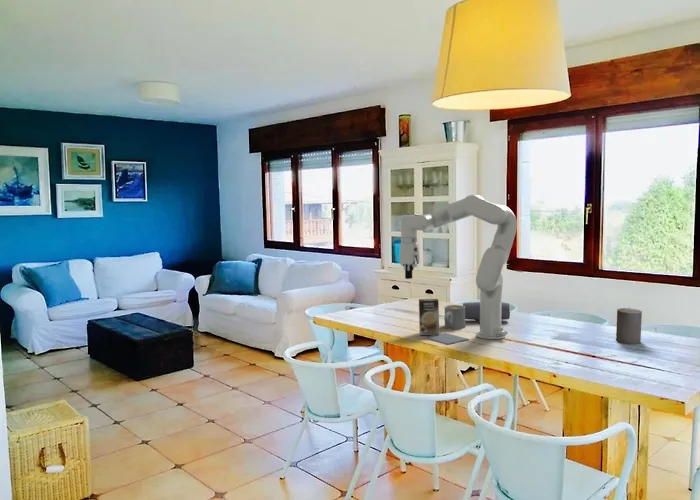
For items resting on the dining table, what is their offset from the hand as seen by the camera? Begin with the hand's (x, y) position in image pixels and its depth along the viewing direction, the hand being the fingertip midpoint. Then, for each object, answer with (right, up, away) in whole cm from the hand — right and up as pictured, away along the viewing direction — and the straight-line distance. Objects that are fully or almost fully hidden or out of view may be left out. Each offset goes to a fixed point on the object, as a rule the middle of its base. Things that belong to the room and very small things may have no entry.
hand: (408, 278), depth 268 cm
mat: (+15, -26, -18) cm, 36 cm away
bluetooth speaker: (+41, -23, +17) cm, 50 cm away
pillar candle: (+92, -26, -28) cm, 100 cm away
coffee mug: (+22, -25, +5) cm, 33 cm away
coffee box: (+9, -26, -9) cm, 29 cm away
